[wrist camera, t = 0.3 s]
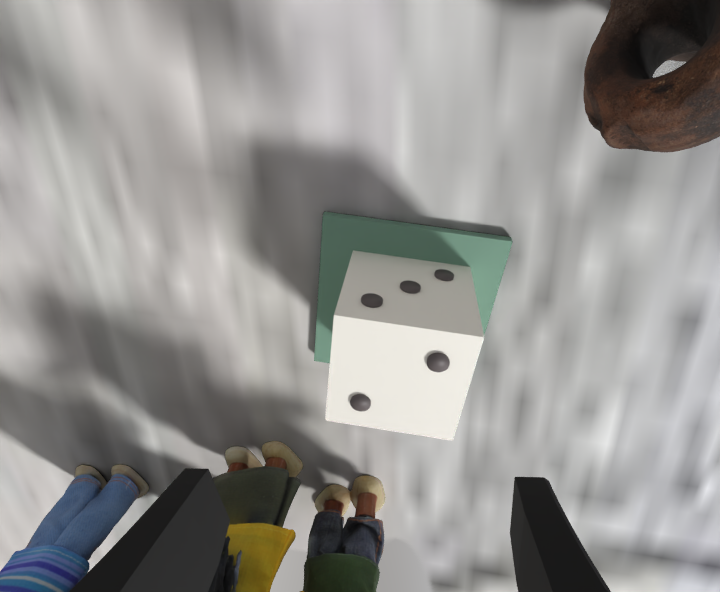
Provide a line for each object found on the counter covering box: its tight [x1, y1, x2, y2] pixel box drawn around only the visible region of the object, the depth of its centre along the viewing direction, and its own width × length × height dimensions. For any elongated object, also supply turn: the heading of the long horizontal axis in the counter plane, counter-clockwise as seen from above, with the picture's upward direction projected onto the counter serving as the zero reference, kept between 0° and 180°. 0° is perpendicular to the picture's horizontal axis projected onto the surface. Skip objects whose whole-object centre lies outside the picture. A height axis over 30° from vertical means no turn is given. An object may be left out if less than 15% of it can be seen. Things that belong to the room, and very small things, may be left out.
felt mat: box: [314, 212, 513, 363], centre depth 19 cm, size 7×7×1 cm
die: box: [325, 250, 484, 441], centre depth 17 cm, size 5×5×5 cm
